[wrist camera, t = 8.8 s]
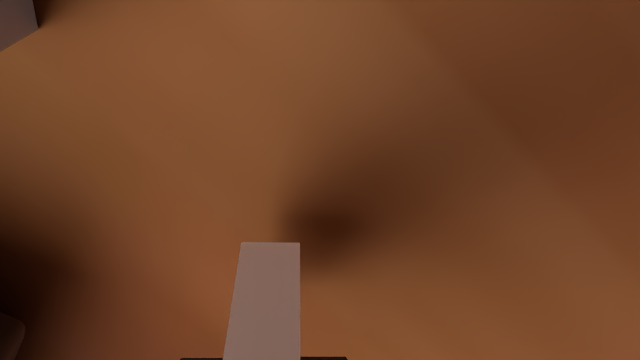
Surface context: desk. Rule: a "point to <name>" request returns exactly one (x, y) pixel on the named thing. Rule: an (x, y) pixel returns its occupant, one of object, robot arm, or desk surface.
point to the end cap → (10, 336)
